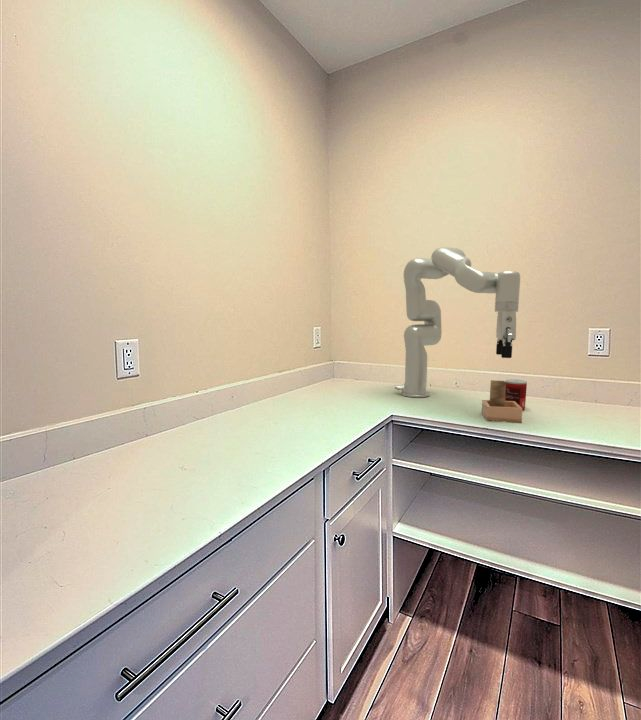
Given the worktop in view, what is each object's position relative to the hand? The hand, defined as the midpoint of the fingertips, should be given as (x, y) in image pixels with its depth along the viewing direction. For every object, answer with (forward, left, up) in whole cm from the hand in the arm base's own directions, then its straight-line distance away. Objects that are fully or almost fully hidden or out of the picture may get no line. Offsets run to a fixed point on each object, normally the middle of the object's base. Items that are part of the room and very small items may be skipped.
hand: (503, 356), depth 150 cm
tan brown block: (-1, -1, -21) cm, 21 cm away
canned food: (+8, +16, -23) cm, 29 cm away
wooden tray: (0, 0, -22) cm, 22 cm away
